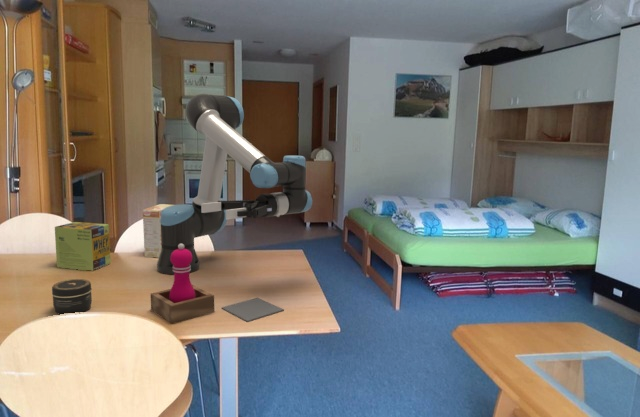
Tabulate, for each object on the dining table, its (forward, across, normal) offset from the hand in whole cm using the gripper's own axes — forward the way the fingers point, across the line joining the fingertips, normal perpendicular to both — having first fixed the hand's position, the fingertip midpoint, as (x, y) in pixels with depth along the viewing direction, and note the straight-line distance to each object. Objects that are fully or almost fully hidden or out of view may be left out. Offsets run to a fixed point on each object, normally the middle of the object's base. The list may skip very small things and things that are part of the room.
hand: (213, 211), depth 142 cm
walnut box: (+11, 0, -28) cm, 30 cm away
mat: (-5, -12, -28) cm, 31 cm away
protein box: (+17, +64, -28) cm, 72 cm away
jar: (+34, +21, -28) cm, 49 cm away
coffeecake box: (-13, +64, -28) cm, 71 cm away
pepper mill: (+11, 0, -28) cm, 30 cm away
